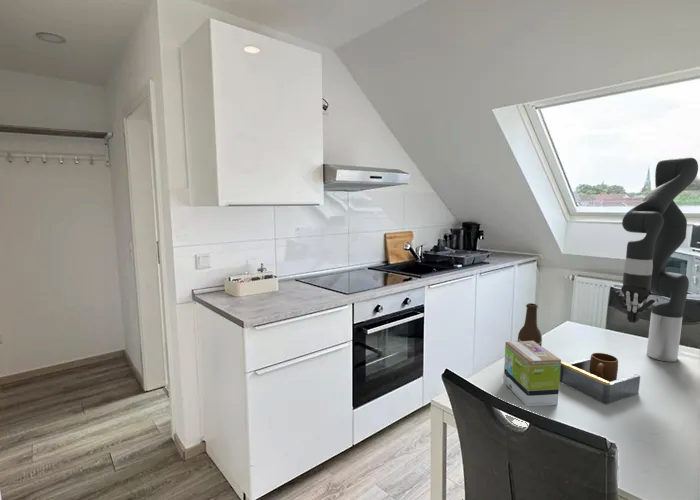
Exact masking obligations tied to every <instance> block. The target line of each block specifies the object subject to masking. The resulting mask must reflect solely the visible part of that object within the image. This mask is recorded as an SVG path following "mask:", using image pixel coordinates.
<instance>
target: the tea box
mask: <svg viewBox="0 0 700 500" xmlns="http://www.w3.org/2000/svg"><path fill="white" fill-rule="evenodd" d="M504 347H505V348H504V369H503V383H504V384H505V385H506V387H508V388H509V389H510V390H511V392H513V393H514V394H515V395H516V397H518V398H519V400H520V401H521V402H522V403H523V404H524V406H526V407H547V406H549V407H550V406H558V403H559V392H560V391H559V390H560V382H559V381H560V369H561V362H562V360H561V359H560V358H559V357H558V356H556V355H554V354H553V353H552V352H551V351H549V350H547V349H546V348H545V347H543V346H542V345H541V346H540V345H539V344H537V343H536V342H534V341H518V340H517V341H505V346H504Z"/></svg>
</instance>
